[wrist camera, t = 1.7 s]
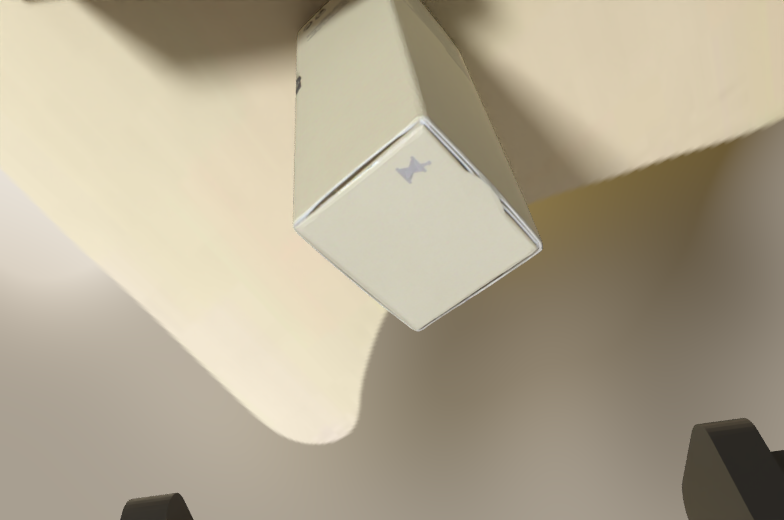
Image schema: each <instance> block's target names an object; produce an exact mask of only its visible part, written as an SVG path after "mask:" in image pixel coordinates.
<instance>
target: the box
mask: <svg viewBox="0 0 784 520" xmlns="http://www.w3.org/2000/svg"><path fill="white" fill-rule="evenodd" d="M293 228H294V230H295V231H296V232H297V234H298V235H299V236H301V237H302V238H303V239H304V240H305V241H306V242H307V243H308V244H310V245H311V246H312V247H313V248H314V249H315V250H316V251H317V252H319V253H320V254H321V255H322V256H323V257H324V258H325V259H327V260H328V261H329V262H330V263H331V264H333V265H334V266H335V267H336V268H337V269H338V270H340V271H341V272H342V273H343V274H344V275H345V276H347V277H348V278H349V279H350V280H351V281H352V282H354V283H355V284H356V285H357V286H358V287H360V288H361V289H362V290H363V291H364V292H366V293H367V294H368V295H369V296H370V297H372V298H373V299H374V300H376V301H377V302H378V303H379V304H380V305H381V306H383V307H384V308H385V309H387V310H388V311H389V312H390V313H392V314H393V315H394V316H396V317H397V318H398V319H400V320H401V321H402V322H404V323H405V324H407V325H408V326H409V327H410V328H412V329H413V330H415V331H421V330H423V329H424V328H426V327H427V326H429V325H430V324H432V323H433V322H435V321H436V320H438V319H439V318H441V317H442V316H444V315H445V314H447V313H448V312H450V311H451V310H453V309H454V308H456V307H458V306H459V305H461V304H463V303H465V302H466V301H467V300H468V299H470V298H472V297H473V296H475V295H476V294H478V293H480V292H481V291H483V290H484V289H486V288H487V287H489V286H490V285H492V284H493V283H495V282H496V281H498V280H499V279H501V278H502V277H504V276H505V275H507V274H508V273H510V272H511V271H513V270H514V269H516V268H517V267H519V266H520V265H522V264H523V263H525V262H526V261H527V260H529V259H530V258H532V257H533V256H535V255H536V254H538V253H539V252H540V251H542V249H543V245H542V241H541V238H540V235H539V233H538V231H537V228H536V226H535V223H534V221H533V219H532V216H531V213H530V211H529V209H528V206H527V204H526V202H525V200H524V197H523V195H522V193H521V190H520V188H519V186H518V184H517V181H516V179H515V177H514V175H513V172H512V170H511V168H510V166H509V163H508V161H507V159H506V156H505V154H504V152H503V150H502V147H501V145H500V143H499V140H498V138H497V136H496V133H495V131H494V129H493V126H492V124H491V122H490V120H489V117H488V115H487V113H486V111H485V109H484V106H483V104H482V102H481V100H480V97H479V95H478V93H477V90H476V88H475V86H474V84H473V81H472V79H471V77H470V74H469V72H468V70H467V67H466V65H465V63H464V60H463V58H462V56H461V54H460V51H459V50H458V48H457V47H456V46H455V44H454V43H453V42H452V40H451V39H450V38H449V36H448V35H447V34H446V33H445V31H444V30H443V29H442V27H441V26H440V25H439V24H438V22H437V21H436V20H435V19H434V18H433V16H432V15H431V14H430V13H429V11H428V10H427V9H426V8H425V6H424V5H423V4H422V3H421V2H420V0H330V1H329V2H328V3H327V4H326V5H324V6H323V7H322V8H321V9H320V10H319V11H318V12H317V13H316V14H315V15H314V16H313V17H312V18H311V19H310V20H309V21H308V22H307V23H306V24H305V25H304V26H303V27H302V28H301V29H300V31H299V32H298V34H297V56H296V103H295V153H294V194H293Z"/></svg>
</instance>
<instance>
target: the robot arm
mask: <svg viewBox="0 0 784 520" xmlns="http://www.w3.org/2000/svg"><path fill="white" fill-rule="evenodd" d="M682 493H683V500H684V505H685V509H686V513H687V516H688V519H689V520H784V450H781V451H774V452H770V450H769V449H768V447H767V445H766V444H765V442H764V440H763V439H762V437H761V435H760V434H759V432H758V430H757V429H756V427H755V426H754V425H753V424H752V422H750V421H749V420H748V419H746V418H740V419H733V420H726V421H718V422H711V423H704V424H697V425H695V426H694V428H693V430H692V434H691V439H690V445H689V450H688V455H687V460H686V466H685V471H684V476H683V483H682ZM120 520H193V518H192V516H191V514H190V511H189V510H188V507H187V505H186V503H185V501H184V499H183V497H182V496H181V495H180V494H179V493H173V494H165V495H159V496H150V497H143V498H136V499H131V500H129V501H128V502H127V503H126V505H125V507H124V509H123V512H122V515H121V519H120Z"/></svg>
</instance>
